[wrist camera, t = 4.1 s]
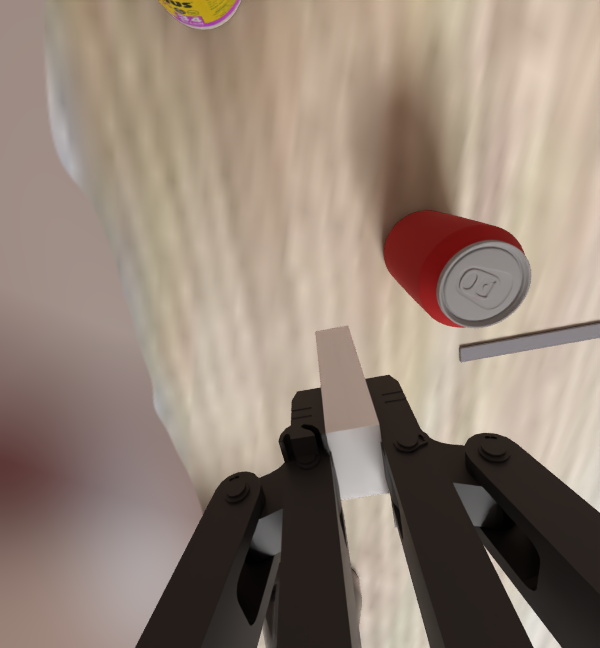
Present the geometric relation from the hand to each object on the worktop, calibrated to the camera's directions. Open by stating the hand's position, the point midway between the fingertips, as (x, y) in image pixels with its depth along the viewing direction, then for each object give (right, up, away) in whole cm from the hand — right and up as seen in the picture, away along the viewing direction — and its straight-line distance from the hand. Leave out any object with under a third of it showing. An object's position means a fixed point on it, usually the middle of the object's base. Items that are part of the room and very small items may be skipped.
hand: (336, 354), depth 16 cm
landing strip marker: (+24, 0, +19) cm, 30 cm away
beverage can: (+9, +8, +15) cm, 20 cm away
